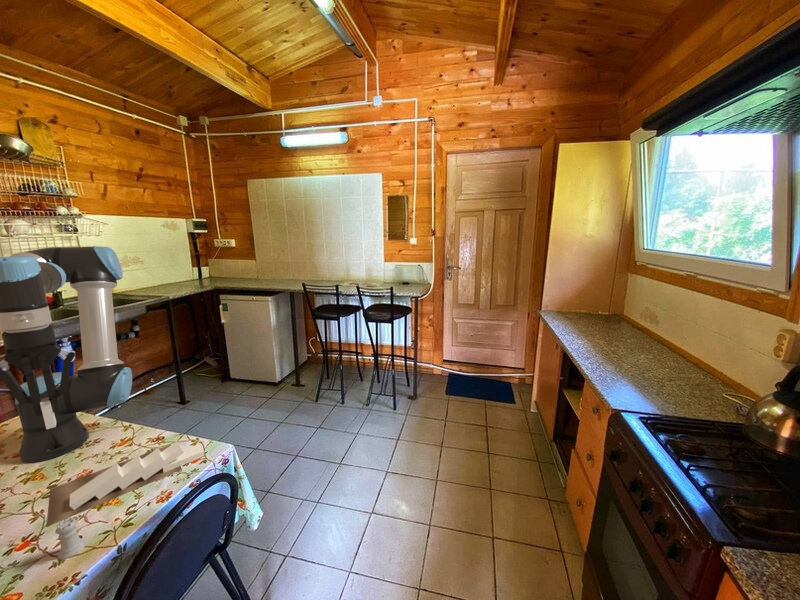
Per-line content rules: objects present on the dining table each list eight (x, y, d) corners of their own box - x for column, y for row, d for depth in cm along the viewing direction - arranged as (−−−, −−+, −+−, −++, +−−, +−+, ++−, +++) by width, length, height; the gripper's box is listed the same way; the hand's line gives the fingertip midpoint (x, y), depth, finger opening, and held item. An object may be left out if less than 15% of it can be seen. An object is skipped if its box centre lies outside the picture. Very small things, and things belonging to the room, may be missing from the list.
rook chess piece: (69, 567, 66) (60, 534, 64) (52, 563, 66) (43, 530, 65) (93, 547, 70) (86, 515, 68) (77, 543, 71) (69, 512, 69)
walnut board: (47, 532, 74) (46, 526, 73) (51, 493, 85) (50, 488, 85) (182, 474, 91) (182, 469, 91) (171, 448, 103) (170, 444, 102)
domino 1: (69, 506, 77) (118, 472, 83) (69, 494, 81) (116, 463, 86) (74, 510, 78) (122, 476, 83) (74, 498, 81) (120, 467, 87)
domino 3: (118, 486, 83) (161, 456, 89) (116, 476, 87) (157, 448, 92) (122, 490, 84) (164, 460, 90) (120, 479, 87) (161, 452, 93)
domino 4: (141, 476, 86) (181, 448, 92) (138, 467, 90) (177, 441, 96) (144, 480, 87) (184, 452, 93) (142, 471, 90) (180, 444, 96)
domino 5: (162, 467, 89) (203, 451, 96) (159, 459, 93) (199, 443, 100) (163, 472, 90) (204, 455, 97) (160, 464, 93) (200, 448, 100)
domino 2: (95, 495, 80) (140, 464, 86) (94, 484, 84) (138, 455, 89) (99, 499, 81) (144, 468, 86) (98, 488, 84) (141, 459, 90)
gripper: (-25, 338, 64) (5, 445, 69) (69, 325, 73) (90, 421, 78) (-17, 330, 69) (10, 430, 74) (70, 319, 78) (89, 409, 83)
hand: (51, 425), depth 76 cm, fingers closed
